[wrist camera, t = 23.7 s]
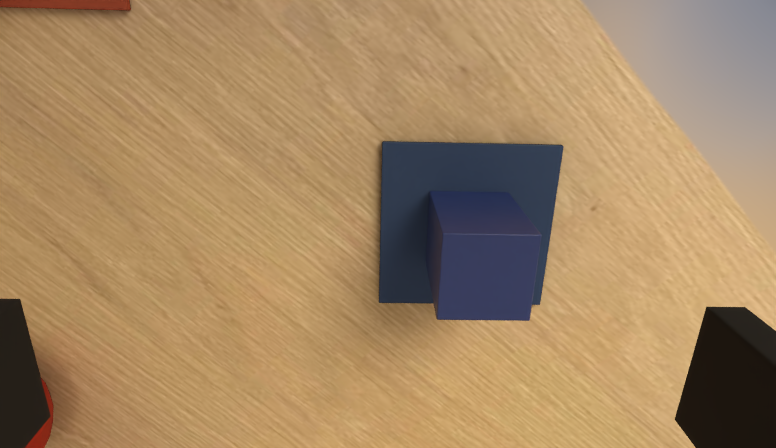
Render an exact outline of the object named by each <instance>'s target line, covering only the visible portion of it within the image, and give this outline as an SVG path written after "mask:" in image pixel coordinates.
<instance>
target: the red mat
mask: <svg viewBox="0 0 776 448" xmlns="http://www.w3.org/2000/svg"><path fill="white" fill-rule="evenodd" d="M0 7H20V8H57V9H95V10H131V8H130V1H129V0H0Z"/></svg>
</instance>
